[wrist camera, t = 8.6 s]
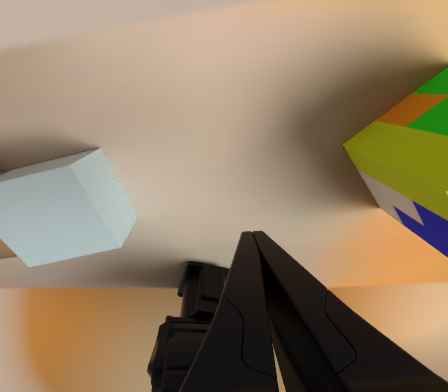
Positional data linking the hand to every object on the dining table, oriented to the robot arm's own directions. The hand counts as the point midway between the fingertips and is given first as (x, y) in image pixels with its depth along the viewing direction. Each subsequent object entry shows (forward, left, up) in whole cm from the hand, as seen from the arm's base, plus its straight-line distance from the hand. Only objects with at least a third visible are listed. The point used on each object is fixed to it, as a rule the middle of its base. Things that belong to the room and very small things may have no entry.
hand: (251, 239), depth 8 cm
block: (-9, +13, -13) cm, 20 cm away
